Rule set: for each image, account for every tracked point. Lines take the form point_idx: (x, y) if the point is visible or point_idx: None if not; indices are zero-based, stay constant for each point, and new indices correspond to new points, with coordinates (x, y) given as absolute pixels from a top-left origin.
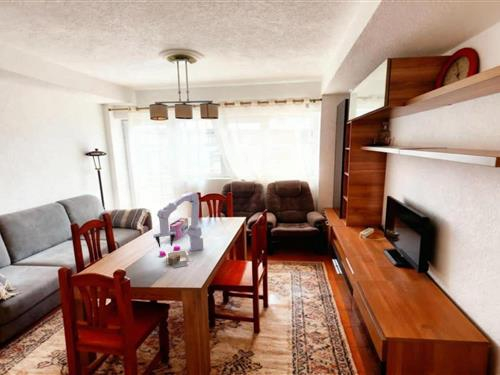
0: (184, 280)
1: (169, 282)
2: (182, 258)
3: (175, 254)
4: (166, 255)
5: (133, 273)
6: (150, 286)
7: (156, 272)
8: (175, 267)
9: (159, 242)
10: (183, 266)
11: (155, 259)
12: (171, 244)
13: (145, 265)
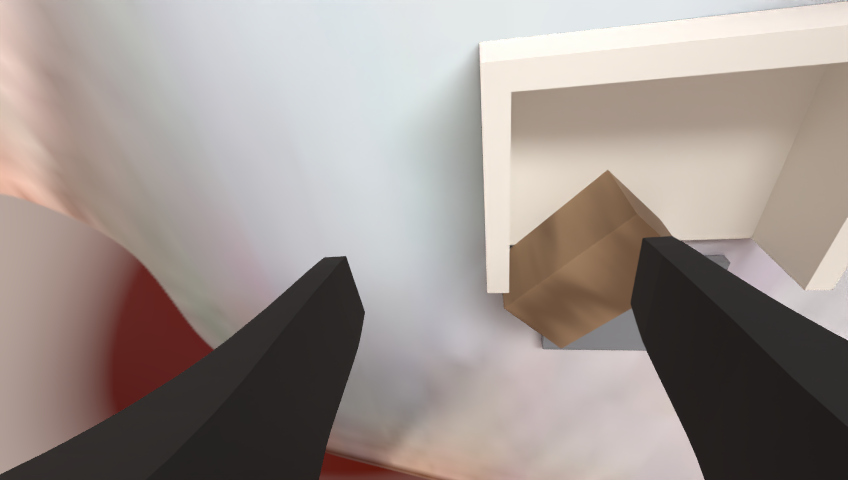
0: (580, 475)
1: (487, 464)
2: (722, 160)
3: (638, 230)
4: (486, 207)
5: (202, 309)
6: (382, 461)
7: (391, 349)
8: (560, 348)
9: (311, 473)
10: (641, 347)
11: (308, 22)
12: (656, 348)
13: (239, 189)
